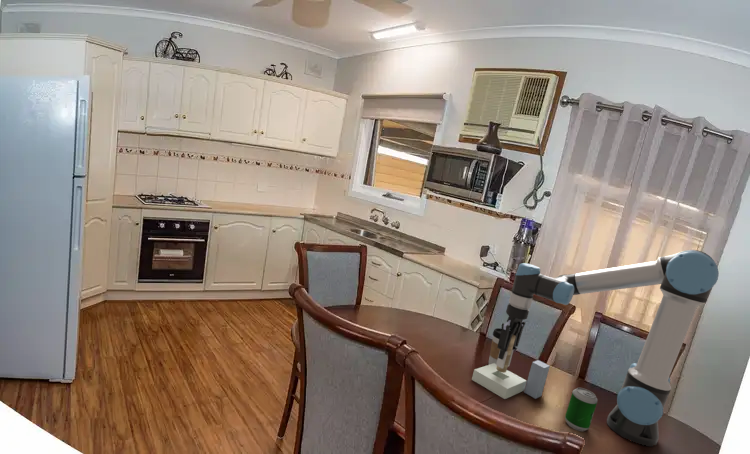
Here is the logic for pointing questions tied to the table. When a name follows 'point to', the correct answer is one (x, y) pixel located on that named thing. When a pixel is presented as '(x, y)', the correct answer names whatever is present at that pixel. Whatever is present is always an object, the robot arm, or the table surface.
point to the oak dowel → (507, 355)
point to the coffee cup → (495, 346)
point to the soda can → (581, 409)
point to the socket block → (499, 381)
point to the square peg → (536, 379)
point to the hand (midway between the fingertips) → (502, 365)
